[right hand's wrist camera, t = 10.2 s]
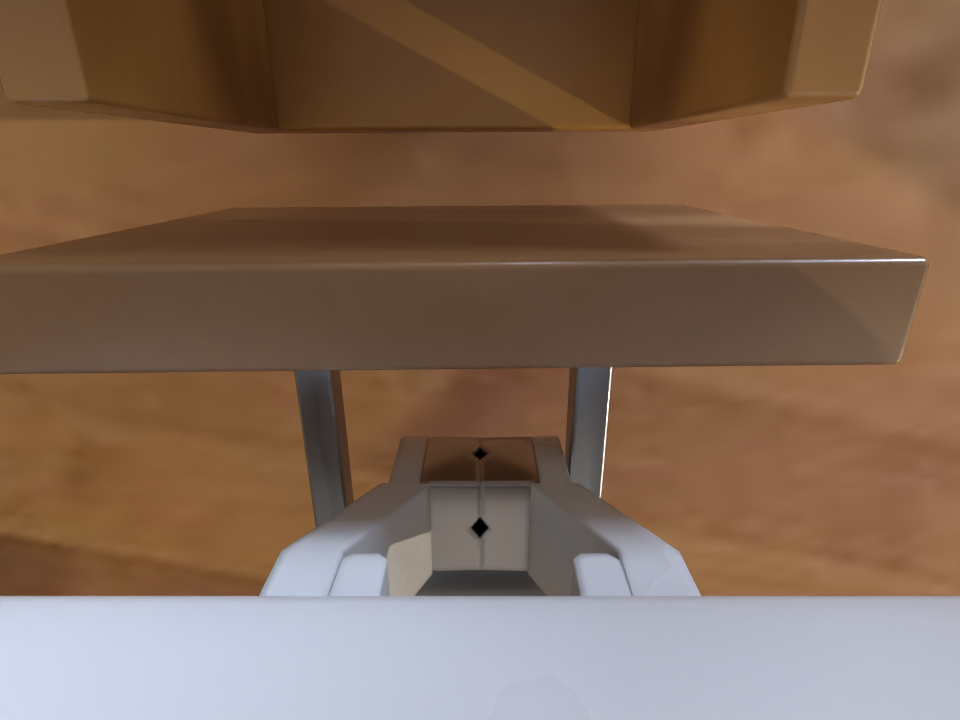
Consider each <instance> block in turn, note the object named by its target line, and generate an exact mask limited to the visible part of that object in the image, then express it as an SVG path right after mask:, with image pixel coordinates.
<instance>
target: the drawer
mask: <svg viewBox="0 0 960 720" xmlns="http://www.w3.org/2000/svg"><path fill="white" fill-rule="evenodd" d="M881 3H882V0H0V80H1V83H2V87H3V90H4V94H5V96H6V98H7V99H8V100H9V101H11V102H14V103H16V104H23V105H31V106H39V107H48V108H56V109H64V110H72V111H80V112H88V113H96V114H104V115H112V116H120V117H128V118H137V119H145V120H153V121H161V122H169V123H177V124H185V125H193V126H201V127H209V128H218V129H226V130H234V131H245V132H251V133H391V132H558V131H655V130H662V129H668V128H674V127H681V126H687V125H693V124H699V123H706V122H712V121H718V120H724V119H731V118H737V117H743V116H749V115H756V114H762V113H768V112H774V111H781V110H787V109H793V108H799V107H806V106H812V105H818V104H824V103H831V102H837V101H843V100H849V99H852V98H855V97H857V96H858V95H859V94H860V93H861V91H862V89H863V84H864V80H865V75H866V71H867V66H868V62H869V57H870V53H871V48H872V44H873V39H874V35H875V30H876V26H877V21H878V17H879V12H880V7H881ZM928 267H929V263H928V260H927V259H925V258H923V257H921V256H917V255H912V254H908V253H903V252H898V251H894V250H889V249H884V248H880V247H875V246H870V245H866V244H861V243H857V242H852V241H847V240H843V239H838V238H833V237H829V236H824V235H819V234H815V233H810V232H805V231H801V230H796V229H791V228H787V227H782V226H777V225H773V224H768V223H763V222H759V221H754V220H749V219H745V218H740V217H735V216H731V215H726V214H721V213H717V212H712V211H707V210H703V209H698V208H693V207H689V206H684V205H558V206H425V207H293V208H231V209H226V210H221V211H216V212H211V213H206V214H201V215H196V216H191V217H186V218H181V219H177V220H172V221H167V222H162V223H157V224H152V225H147V226H142V227H137V228H132V229H127V230H122V231H117V232H112V233H107V234H102V235H97V236H92V237H87V238H82V239H77V240H72V241H68V242H63V243H58V244H53V245H48V246H43V247H38V248H33V249H28V250H23V251H18V252H13V253H8V254H3V255H0V374H48V373H139V372H230V371H294V373H295V380H296V387H297V395H298V402H299V409H300V416H301V423H302V431H303V438H304V445H305V452H306V460H307V467H308V474H309V481H310V488H311V496H312V503H313V510H314V517H315V524H316V527H317V526H319V525H320V524H322V523H323V522H325V521H326V520H328V519H329V518H331V517H332V516H334V515H335V514H337V513H338V512H340V511H341V510H343V509H344V508H345V507H347V506H348V505H350V504H351V503H353V502H354V500H353V490H352V481H351V471H350V462H349V453H348V443H347V434H346V424H345V415H344V406H343V396H342V387H341V377H340V370H412V369H503V368H570V376H569V393H568V411H567V428H566V446H565V462H566V465H567V469H568V473H569V476H570V480H571V483H579V484H581V485H582V486H584V487H585V488H587V489H588V490H589V491H591V492H592V493H594V494H595V495H597V496H598V497H600V498H601V496H602V485H603V473H604V462H605V450H606V439H607V428H608V416H609V405H610V393H611V382H612V370H613V367H684V366H775V365H866V364H896V363H899V362H900V360H901V359H902V356H903V353H904V350H905V346H906V343H907V339H908V336H909V332H910V329H911V325H912V322H913V319H914V315H915V312H916V308H917V305H918V301H919V298H920V295H921V291H922V288H923V284H924V281H925V277H926V274H927V270H928ZM432 572H433V574H432V575H431V576H430V577H429V578H428V580H427V581H426V582H425V583H424V585H423V586H422V587H421V588H420V590H419V591H418V592H417V593H416V594H415V596H546V595H545V594H544V593H543V592H542V590H541V589H540V588H539V587H538V585H537V584H536V583H535V582H534V580H533V579H532V578H531V577H530V576H529V574H528V571H513V570H447V571H432Z"/></svg>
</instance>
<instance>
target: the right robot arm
mask: <svg viewBox="0 0 960 720" xmlns="http://www.w3.org/2000/svg"><path fill="white" fill-rule="evenodd" d="M447 570H513V571H528V574H529V576H530V577H531V578H532V579H533V580H534V582H535V583H536V584H537V585H538V587H539V588H540V589H541V590H542V592H543V593H544V594H545V595H546V596H415V594H416V593H417V592H418V591H419V590H420V588H421V587H422V586H423V585H424V583H425V582H426V581H427V580H428V578H429V577H430V576H431V575H432V574H433V572H432V571H447ZM0 720H960V596H701V595H700V592H699V590H698V588H697V586H696V584H695V582H694V580H693V578H692V576H691V574H690V572H689V570H688V568H687V566H686V564H685V562H684V560H683V558H682V556H681V554H680V552H679V551H678V550H676V549H675V548H673V547H672V546H670V545H669V544H667V543H666V542H664V541H663V540H661V539H660V538H658V537H657V536H655V535H654V534H653V533H651V532H650V531H648V530H647V529H645V528H644V527H642V526H641V525H639V524H638V523H636V522H635V521H633V520H632V519H631V518H629V517H628V516H626V515H625V514H623V513H622V512H620V511H619V510H617V509H616V508H614V507H613V506H611V505H610V504H609V503H607V502H606V501H604V500H603V499H601V498H600V497H598V496H597V495H595V494H594V493H592V492H591V491H589V490H588V489H587V488H585V487H584V486H582V485H581V484H579V483H571V480H570V476H569V473H568V469H567V465H566V462H565V458H564V455H563V451H562V447H561V444H560V440H559V438H558V437H557V436H542V437H495V438H480V437H428V436H406V437H402V438H401V440H400V443H399V447H398V450H397V454H396V458H395V461H394V465H393V469H392V472H391V476H390V480H389V483H381V484H379V485H378V486H376V487H375V488H373V489H372V490H371V491H369V492H368V493H366V494H365V495H363V496H362V497H360V498H359V499H357V500H356V501H354V502H353V503H351V504H350V505H348V506H347V507H345V508H344V509H343V510H341V511H340V512H338V513H337V514H335V515H334V516H332V517H331V518H329V519H328V520H326V521H325V522H323V523H322V524H320V525H319V526H317V527H316V528H314V529H313V530H312V531H310V532H309V533H307V534H306V535H304V536H303V537H301V538H300V539H298V540H297V541H295V542H294V543H292V544H291V545H289V546H288V547H286V548H285V549H284V550H282V551H281V552H280V554H279V556H278V558H277V560H276V562H275V564H274V566H273V568H272V570H271V572H270V574H269V576H268V578H267V580H266V582H265V584H264V586H263V589H262V591H261V593H260V595H259V596H0Z"/></svg>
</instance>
